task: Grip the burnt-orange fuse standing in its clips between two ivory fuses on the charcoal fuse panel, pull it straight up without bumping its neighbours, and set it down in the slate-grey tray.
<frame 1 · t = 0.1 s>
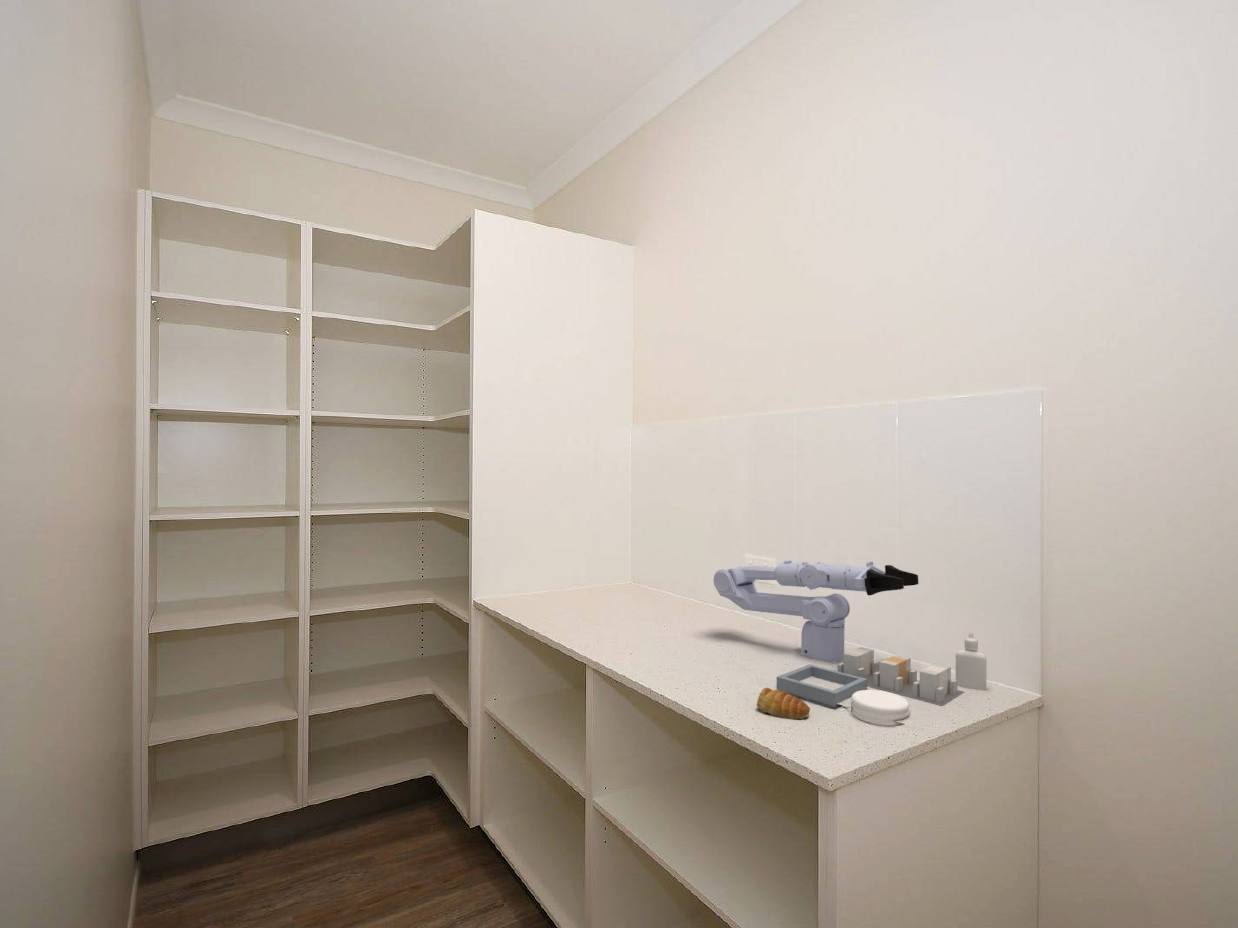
hand: (910, 581, 138), 22 cm above the table, tool horizontal, fingers open, 7 cm apart
eye dropper bottle: (970, 691, 132), on the table
white round tin: (879, 718, 118), on the table
orange fuse: (895, 683, 133), point 1 cm above the table, touching fuse panel
tray: (821, 692, 130), on the table
fuse panel: (895, 688, 133), on the table
ivory fuse left: (858, 674, 139), point 1 cm above the table, touching fuse panel
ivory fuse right: (935, 693, 127), point 1 cm above the table, touching fuse panel
pastry: (781, 712, 120), on the table
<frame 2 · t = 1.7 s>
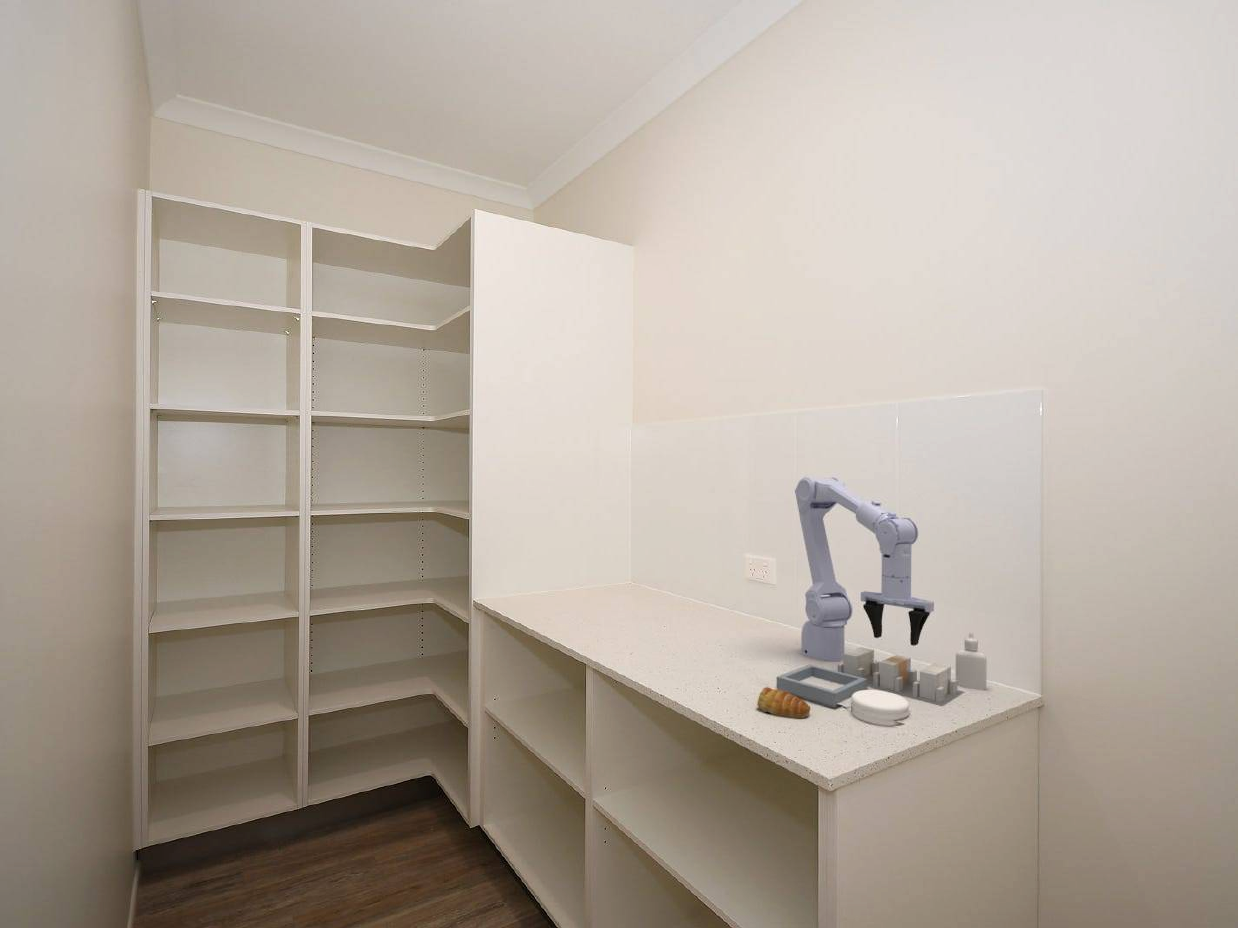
hand: (895, 640, 133), 10 cm above the table, tool pointing down, fingers open, 7 cm apart
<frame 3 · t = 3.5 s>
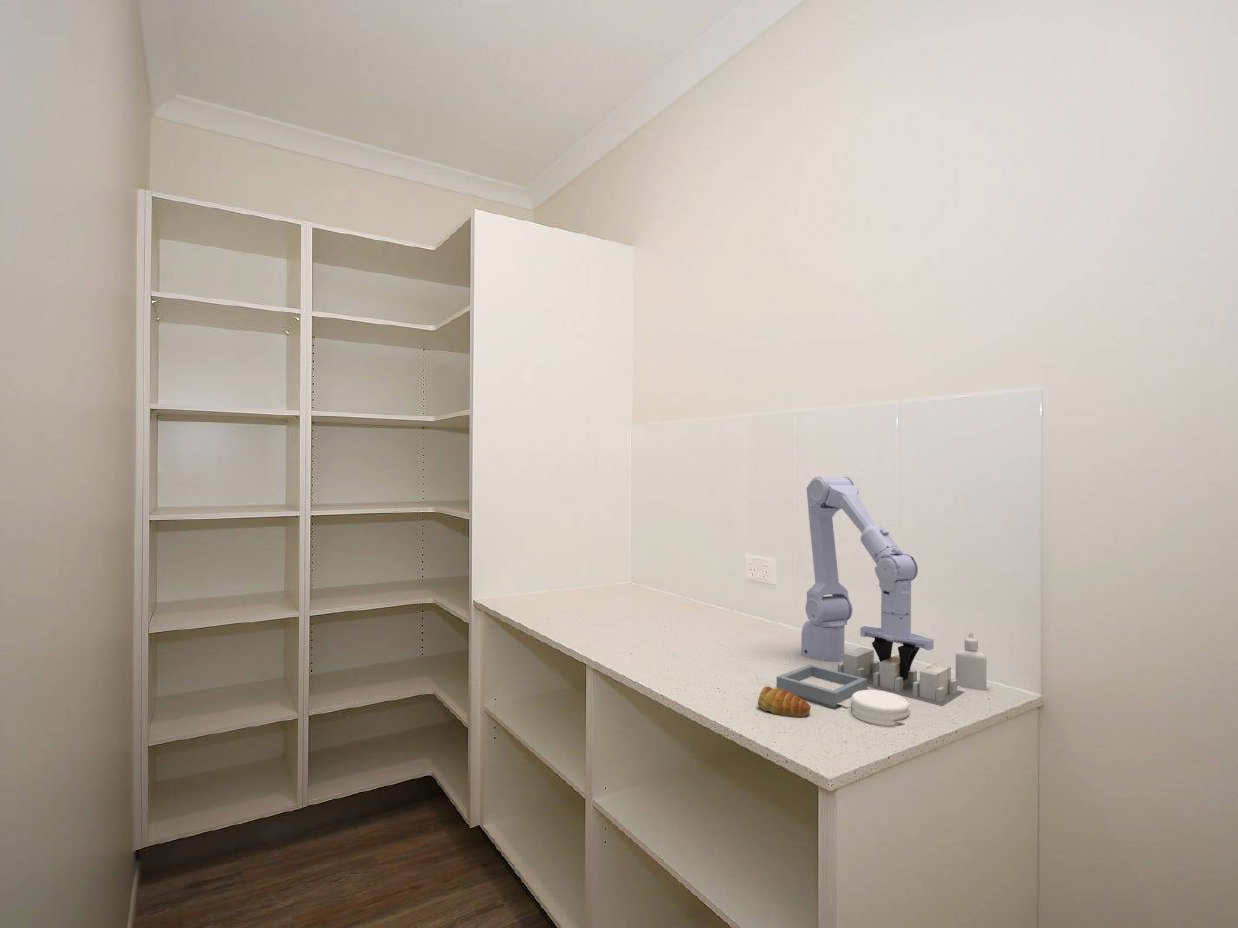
hand: (895, 677, 133), 2 cm above the table, tool pointing down, fingers closed on orange fuse, 3 cm apart
orange fuse: (895, 683, 133), point 1 cm above the table, touching fuse panel, gripper
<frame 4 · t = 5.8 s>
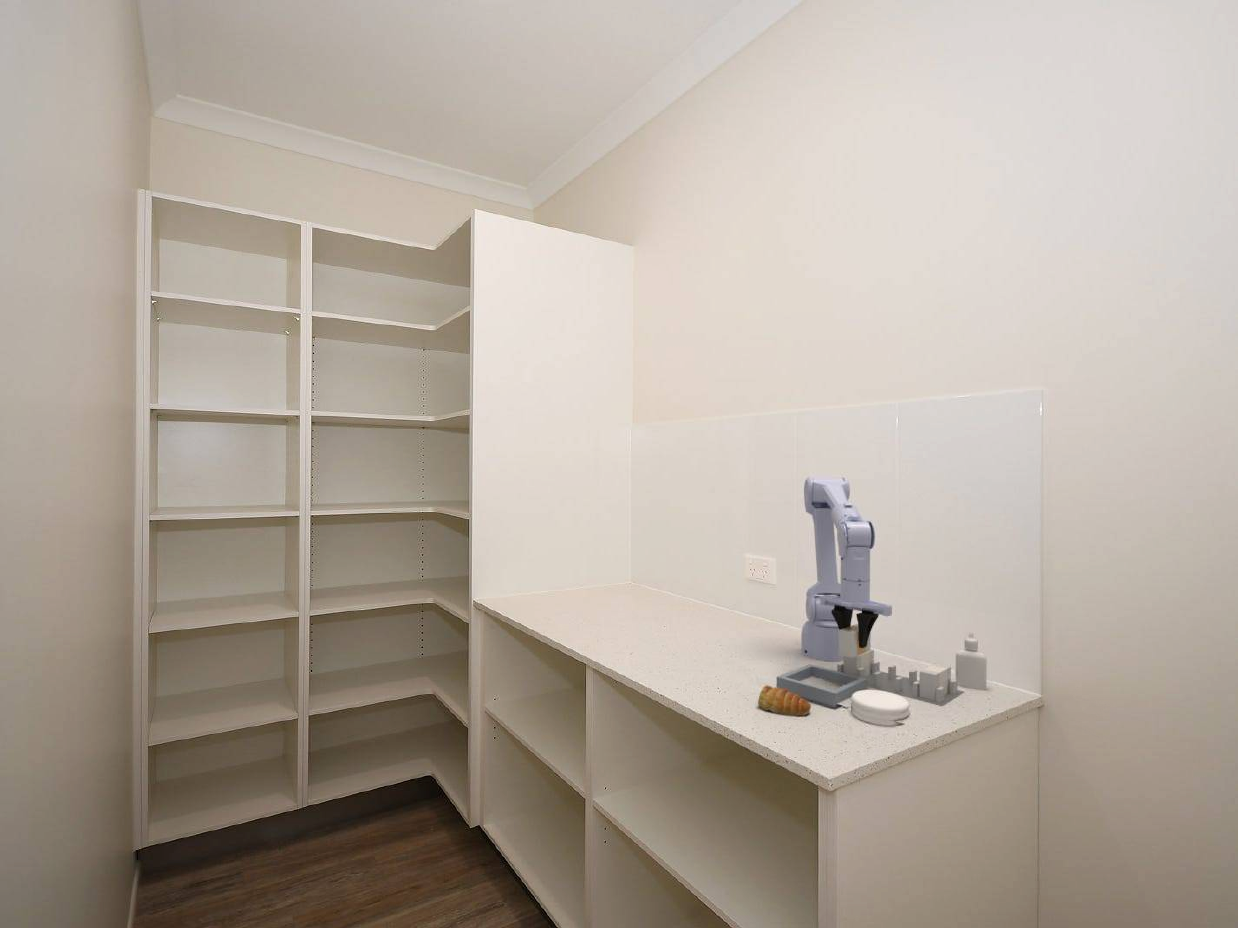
hand: (854, 645, 131), 9 cm above the table, tool pointing down, fingers closed on orange fuse, 3 cm apart
orange fuse: (854, 652, 131), point 8 cm above the table, touching gripper
when the fingers open (3 cm above the table, at t = 8.1 s): orange fuse drops 1 cm, resting on tray.
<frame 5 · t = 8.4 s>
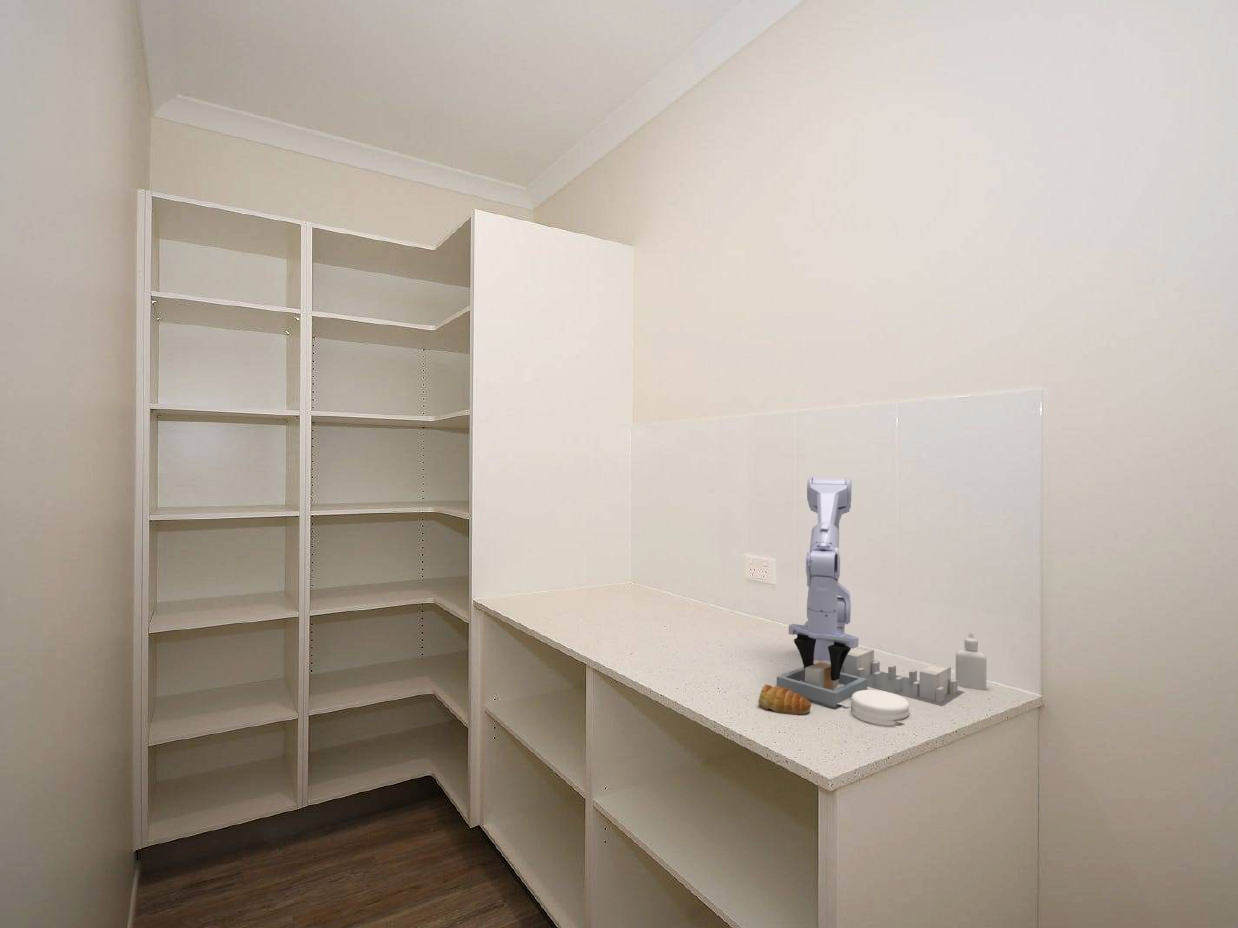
hand: (821, 675, 130), 3 cm above the table, tool pointing down, fingers open, 5 cm apart
orange fuse: (821, 689, 130), resting on tray
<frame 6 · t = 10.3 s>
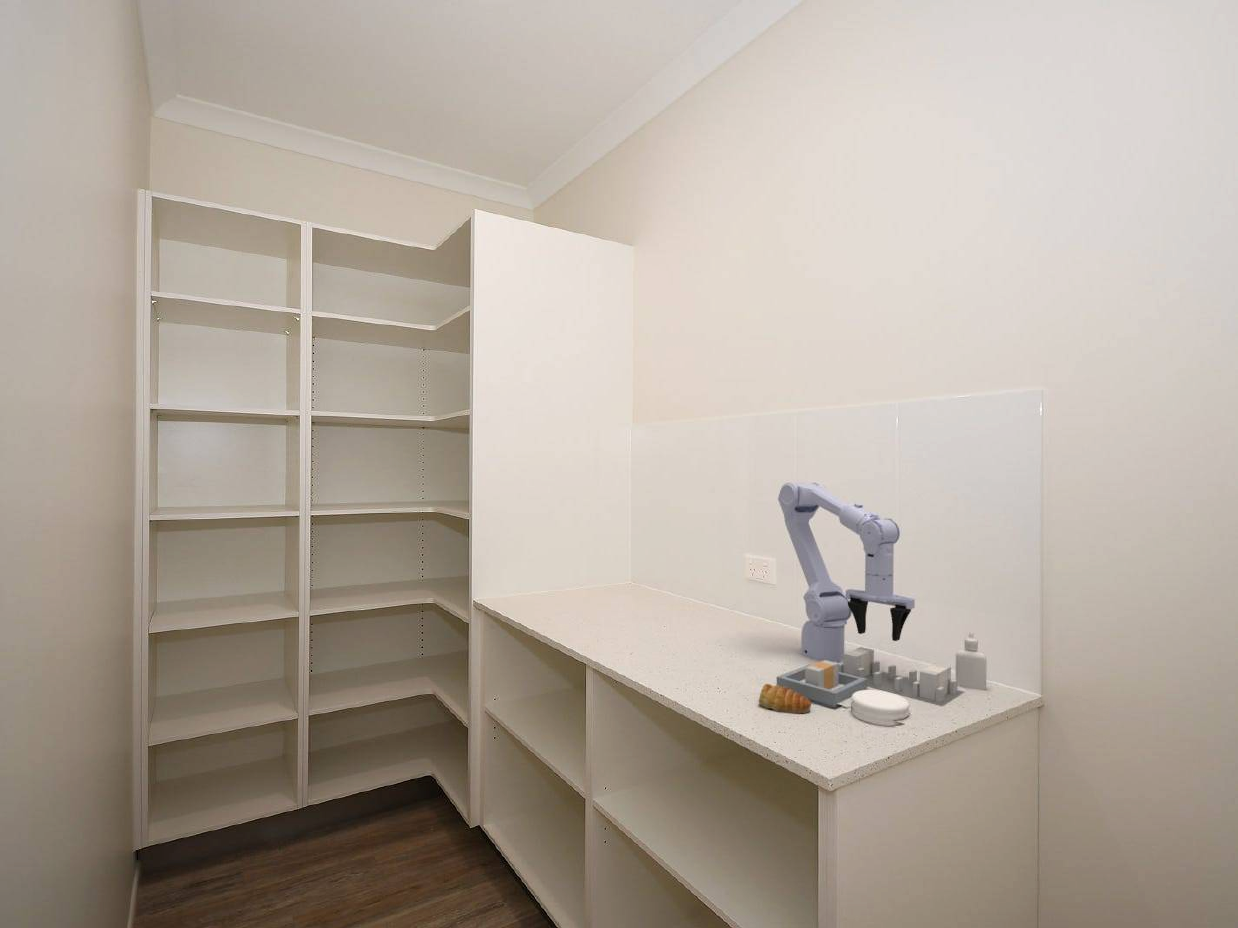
hand: (878, 636, 139), 9 cm above the table, tool pointing down, fingers open, 7 cm apart
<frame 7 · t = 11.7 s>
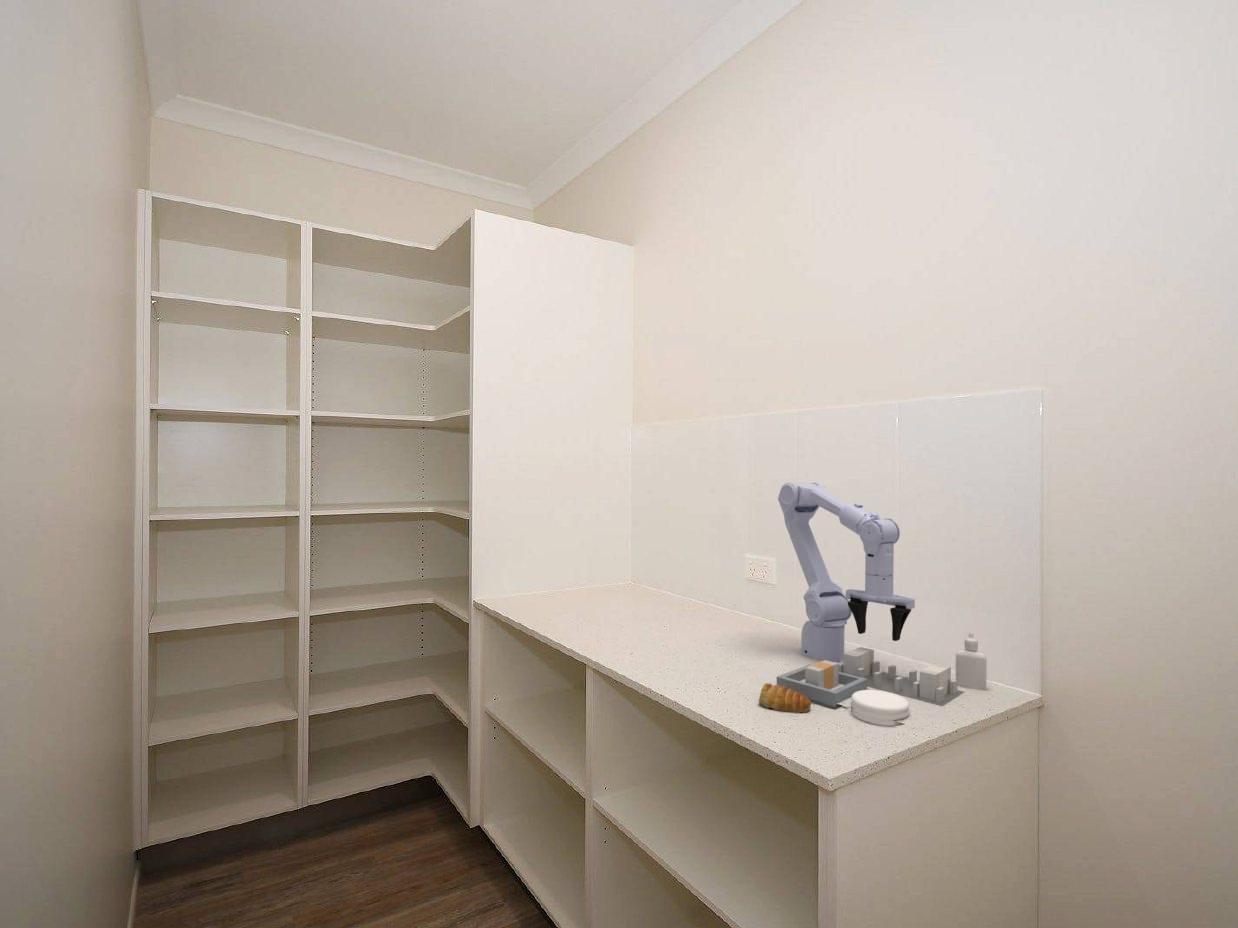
hand: (878, 636, 139), 9 cm above the table, tool pointing down, fingers open, 7 cm apart
at the end: orange fuse inside the target area on the tray (0.1 cm from its centre), point 0.5 cm above the tray's base; ivory fuse left moved 0.0 cm from its start; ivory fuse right moved 0.0 cm from its start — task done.
